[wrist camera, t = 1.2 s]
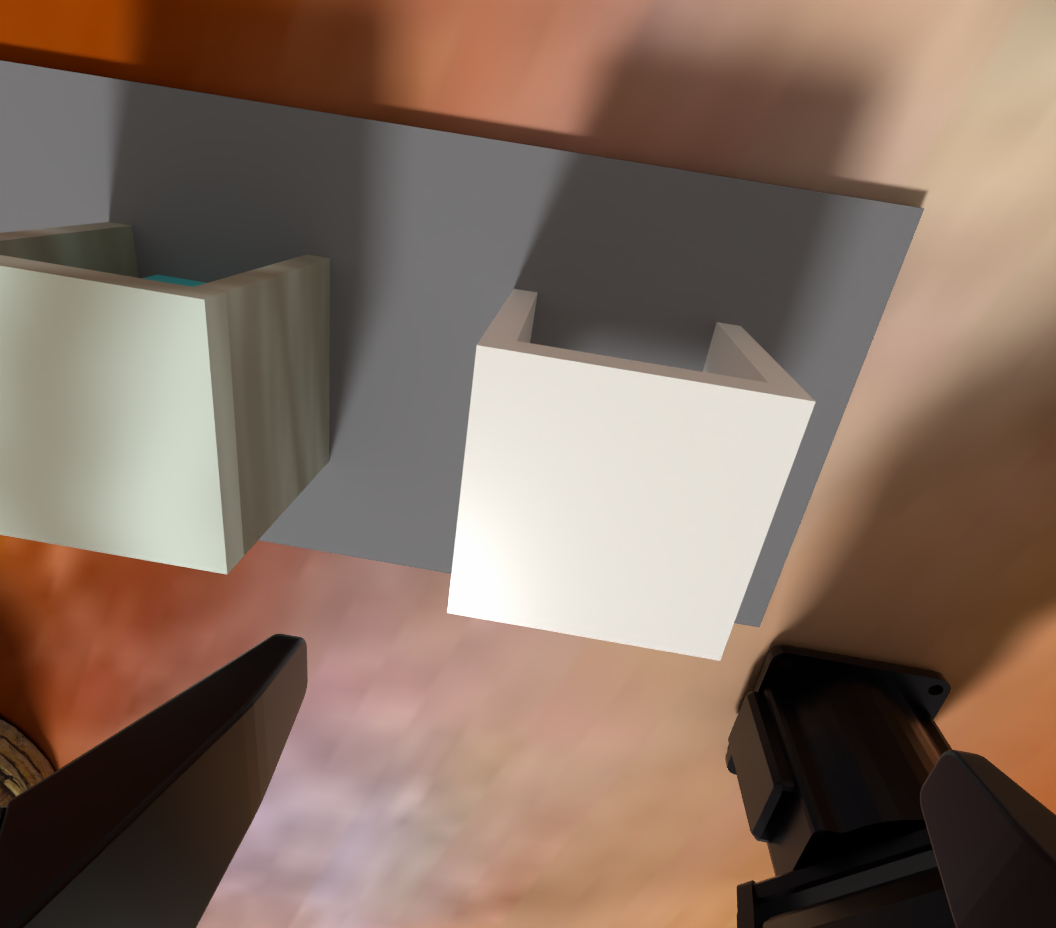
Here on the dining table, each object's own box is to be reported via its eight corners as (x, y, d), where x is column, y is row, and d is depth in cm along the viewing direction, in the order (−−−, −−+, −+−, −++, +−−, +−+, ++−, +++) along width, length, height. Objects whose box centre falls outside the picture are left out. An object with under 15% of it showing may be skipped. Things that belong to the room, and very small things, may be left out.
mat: (916, 207, 16) (924, 208, 16) (756, 620, 22) (759, 627, 22) (-34, 55, 17) (-47, 52, 17) (61, 499, 23) (52, 504, 23)
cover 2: (740, 326, 18) (815, 401, 12) (682, 521, 21) (719, 660, 15) (513, 288, 18) (476, 345, 12) (487, 488, 21) (447, 613, 15)
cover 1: (330, 258, 18) (204, 299, 12) (329, 461, 21) (227, 574, 15) (108, 221, 18) (-123, 245, 12) (138, 428, 21) (-38, 528, 15)
